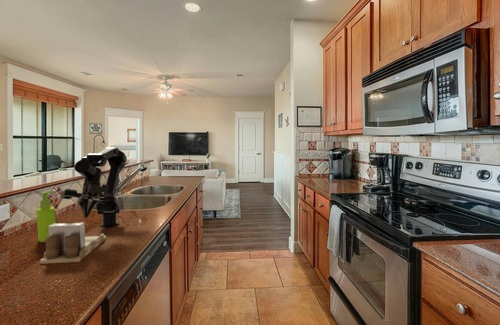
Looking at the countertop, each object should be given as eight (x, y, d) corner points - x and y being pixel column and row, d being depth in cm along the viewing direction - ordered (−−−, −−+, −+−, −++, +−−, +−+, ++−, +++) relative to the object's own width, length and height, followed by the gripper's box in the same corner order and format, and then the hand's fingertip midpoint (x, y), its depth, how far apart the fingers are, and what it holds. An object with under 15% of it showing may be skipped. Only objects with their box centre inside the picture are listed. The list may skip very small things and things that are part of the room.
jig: (75, 239, 108) (74, 220, 107) (106, 238, 110) (105, 219, 109) (40, 263, 86) (38, 239, 86) (78, 261, 88) (77, 237, 87)
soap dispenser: (62, 237, 111) (59, 191, 110) (44, 242, 105) (42, 193, 103) (52, 235, 113) (50, 190, 112) (35, 241, 107) (32, 193, 105)
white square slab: (55, 251, 93) (54, 223, 92) (85, 249, 94) (84, 222, 93) (50, 254, 90) (48, 226, 89) (81, 253, 91) (79, 225, 91)
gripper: (73, 171, 99) (64, 211, 93) (122, 180, 112) (118, 216, 106) (64, 178, 106) (55, 216, 100) (112, 186, 119) (107, 221, 113)
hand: (85, 217), depth 104 cm, fingers closed
